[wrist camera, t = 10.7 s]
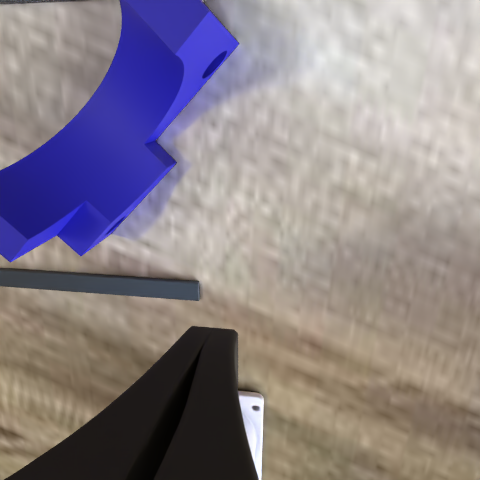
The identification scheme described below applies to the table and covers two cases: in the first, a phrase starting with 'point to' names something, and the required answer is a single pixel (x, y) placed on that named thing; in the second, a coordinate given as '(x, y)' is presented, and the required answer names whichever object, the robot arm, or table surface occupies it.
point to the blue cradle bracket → (114, 131)
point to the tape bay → (95, 281)
